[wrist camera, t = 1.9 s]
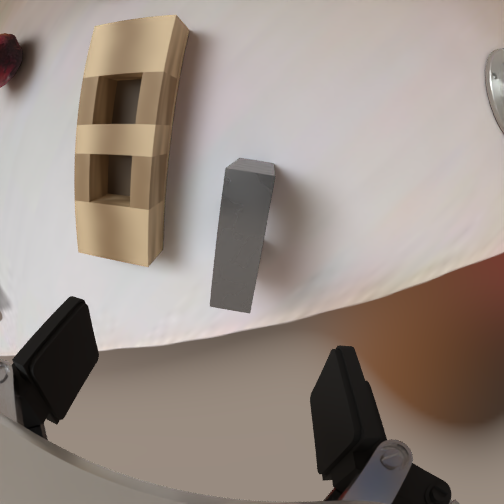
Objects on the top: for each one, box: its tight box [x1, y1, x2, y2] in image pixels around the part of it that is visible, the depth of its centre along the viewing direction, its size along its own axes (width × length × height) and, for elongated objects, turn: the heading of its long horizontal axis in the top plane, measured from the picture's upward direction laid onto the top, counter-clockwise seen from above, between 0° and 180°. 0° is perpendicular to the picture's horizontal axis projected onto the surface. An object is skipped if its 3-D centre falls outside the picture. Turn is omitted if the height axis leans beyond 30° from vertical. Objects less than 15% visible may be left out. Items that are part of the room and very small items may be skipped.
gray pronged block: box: [210, 158, 275, 313], centre depth 22 cm, size 10×3×8 cm, turn 171°
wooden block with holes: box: [75, 15, 189, 267], centre depth 21 cm, size 8×22×4 cm, turn 171°
